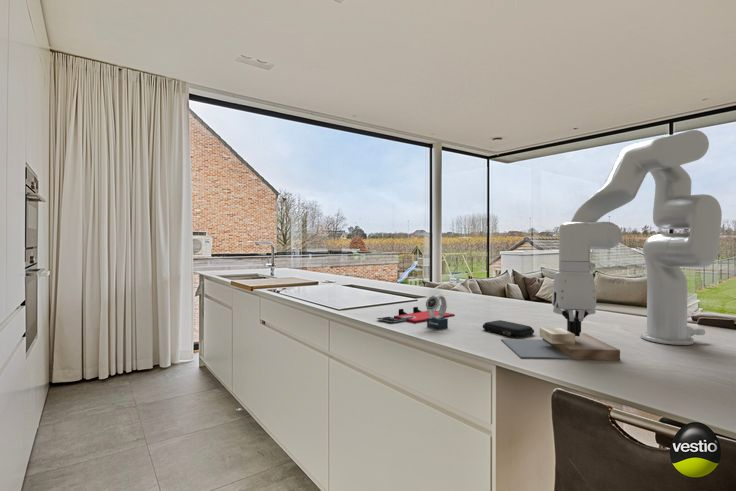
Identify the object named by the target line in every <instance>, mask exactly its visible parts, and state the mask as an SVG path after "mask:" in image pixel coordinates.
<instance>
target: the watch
mask: <svg viewBox="0 0 736 491" xmlns="http://www.w3.org/2000/svg"><path fill="white" fill-rule="evenodd" d="M440 302H441V304H440ZM425 307H426V311H428V313H429V316H430V317H429V318H427V321H426V327H427V328H430V329H435V330H443V329H449V328H448V327H449V325H448V322H449V319H448V317H447V318H442V317H443V316H444V314H445V313H447V312H446V311H447V307H448V306H447V299H446V297H445V296H443V295H441V294H440V295H438V294H433V295H432V296H429V298H427V300H426V302H425ZM438 308H439V310H438V311H439V312H438V316H435V315H434V313H435V311H437V309H438Z"/></svg>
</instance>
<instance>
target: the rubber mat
mask: <svg viewBox="0 0 736 491" xmlns="http://www.w3.org/2000/svg"><path fill="white" fill-rule="evenodd" d="M500 340H501V342H502V343H504V344H505V346H506V347H508V348H509V349H510V350H511V351H513V353H514V354H516V355H517V357H519V358H520V359H538V360H539V359H540V360H541V359H542V360H543V359H544V360H545V359H546V360H571V359H570V357H569V356H567V355H565V354H564V353H562V352H561V351H559V350H558V349H556V348H555V347H553V346H552V345H550V344H549V343H547V342H545V341H544V340H543V339H534V338H533V339H530V338H529V339H528V338H526V339H525V338H524V339H522V338H521V339H519V338H500Z"/></svg>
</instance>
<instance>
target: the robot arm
mask: <svg viewBox="0 0 736 491" xmlns="http://www.w3.org/2000/svg"><path fill="white" fill-rule="evenodd" d="M709 141H710V140H709V138H708V136H707V134H705V133H704V132H703V131H701V130H698V129H690V130H686V131H681V132H678V133H674V134H670V135H666V136H662V137H658V138H653V139H650V140H649V139H648V140H646V141H641V142H639V143H633V144H630V145H628V146H625V147H624V148H623V149H622V150H621V151H620V152H619V154H618V156H617V158H616V160H615V162H614V164H613V165H612V168H611V170H610V172H609V174H608V175H607V178H606V180H605V181H604V183H603V185H602V187H601V188H600V189H599V190H597V191H596V192H595V193H594V194H593V195H591V196H590V197H589V198H587V200H586V201H585V202H583V204H581V205H580V206H579V207H578V208H577V210H576V212H574V214H573V217H572V218H571V221H570V222H563V223H561V224H560V225H559V230H558V232H559V233H558V236H559V237H558V241H559V242H558V271H556V272H555V273H554V278H553V284H552V293H551V294H552V295H551V305H552V306H553V310H552V312H553V313H555V314H558V315H561V316H563V317H564V318H565V320H566V330H567V331H569V332H571V333H573V334H575V336H580V333H582V322H583V321H584V319H585V318H586V317H587V316H590V315H595V314H596V308H597V307H596V306H597V291H596V283H595V282H596V281H595V278H594V277H595V276H594V275H593V272H592V269H595V268H596V264H595V263H592V261H591V250H610V249H613V248H615V247H617V246H618V245H619V244H620V242H621V241H622V239H623V233H622V229H621V228H620V227H619V226H618V225H617V224H615V223H614V222H610V221H599V220H600V219H601V218H602V217H604V216H605V215H607V214H608V213H610V212H612V211H615V210H617V209H619V208H621V207H623V206H625V205H627V204H629V203H631V202H632V201H633V200H634V199H635V198H636V196H637V194H638V192H639V190H640V188H641V186H642V184H643V182H644V180H645V178H646V176H647V174H648V173H650V174H651V176H652V177H653V180H654V184H655V185H654V186H655V188H654V198H653V199H654V201H653V208H652V209H653V210H652V221H653V223H654V226H655V227H656V228H659V229H662V230H663V229H664V230H689V232H688V233H684V232H683V233H679V232H678V233H674V232H673V233H659V234H654V235H652V236H650V237H648V238H647V239H646V240H645V242H644V244H643V246H642V253H643V257H644V258H643V259H644V262H645V269H646V284H647V285H646V293H647V294H646V331H643V332H641V333H640V338H641V339H643V340H646V341H648V342H653V343H659V344H665V345H674V346H675V345H676V346H689V345H690V346H691V345H693V344H694V343H695V338H693V336H695V335H696V336H704V335H706V331H705V329H704V328H696V327H695V328H693V327H692V326H689V325H688V280H687V277H686V275H685V273H684V272H683V270H682V269H681V267H683V268H684V267H685V268H707V267H710V266H712V265H713V264H714V263H715V261H716V260H717V257H718V254H719V248H720V247H719V246H720V241H721V240H720V236H721V228H722V220H723V219H722V216H723V214H722V206H721V204H720V202H719V200H718V199H716V197H714V196H713V195H710V194H704V193H703V194H692V179H691V176H690V174H689V173H688V171H687V170H686V169H684V168H683V167H682V166H683V165H686V164H689V163H692V162H696V161H698V160H700V159H702V158H703V157H704V156H705V155H706V154H707V152H708V151H709V148H710V142H709Z"/></svg>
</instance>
